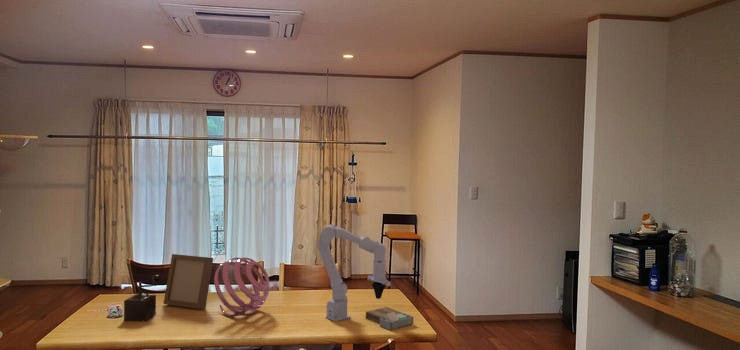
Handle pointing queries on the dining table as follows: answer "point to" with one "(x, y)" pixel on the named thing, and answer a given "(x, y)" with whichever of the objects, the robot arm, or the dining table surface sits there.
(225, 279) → the spiral basket
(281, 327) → the dining table surface
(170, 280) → the photo frame
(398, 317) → the sage tile
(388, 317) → the beige block
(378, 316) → the board
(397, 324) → the tray
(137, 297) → the manual coffee grinder
